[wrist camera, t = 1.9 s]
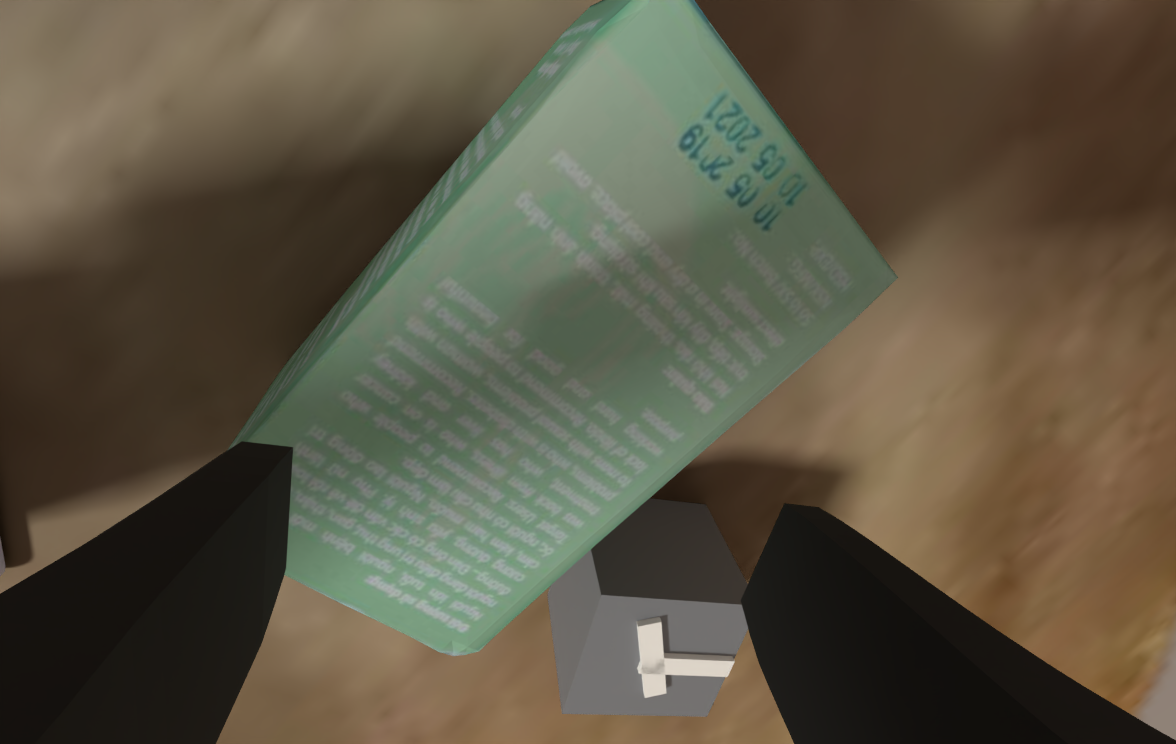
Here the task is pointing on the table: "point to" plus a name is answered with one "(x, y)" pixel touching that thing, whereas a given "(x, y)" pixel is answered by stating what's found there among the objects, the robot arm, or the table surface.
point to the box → (559, 328)
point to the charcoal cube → (649, 616)
